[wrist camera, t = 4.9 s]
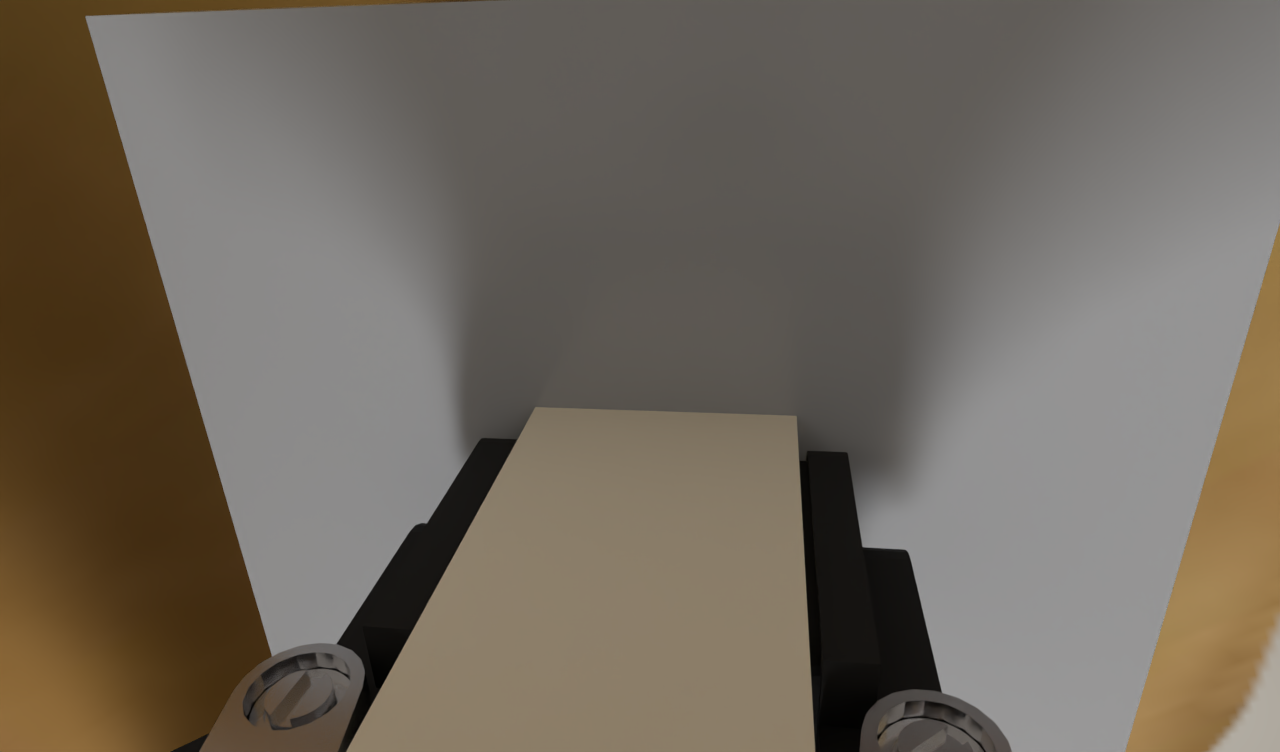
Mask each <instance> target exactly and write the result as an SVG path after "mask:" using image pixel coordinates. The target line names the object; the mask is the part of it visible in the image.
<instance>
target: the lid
mask: <svg viewBox="0 0 1280 752" xmlns="http://www.w3.org/2000/svg"><path fill="white" fill-rule="evenodd" d="M85 17H86V21H87V24H88V27H89V31H90V34H91V38H92V41H93V45H94V48H95V51H96V55H97V58H98V62H99V65H100V69H101V72H102V75H103V79H104V82H105V86H106V89H107V93H108V96H109V99H110V103H111V106H112V110H113V113H114V117H115V120H116V123H117V127H118V130H119V134H120V137H121V140H122V144H123V147H124V151H125V154H126V158H127V161H128V164H129V168H130V171H131V175H132V178H133V182H134V185H135V188H136V192H137V195H138V199H139V202H140V206H141V209H142V212H143V216H144V219H145V223H146V226H147V230H148V233H149V236H150V240H151V243H152V247H153V250H154V253H155V257H156V260H157V264H158V267H159V271H160V274H161V277H162V281H163V284H164V288H165V291H166V295H167V298H168V301H169V305H170V308H171V312H172V315H173V319H174V322H175V325H176V329H177V332H178V336H179V339H180V343H181V346H182V349H183V353H184V356H185V360H186V363H187V366H188V370H189V373H190V377H191V380H192V384H193V387H194V390H195V394H196V397H197V401H198V404H199V408H200V411H201V414H202V418H203V421H204V425H205V428H206V432H207V435H208V438H209V442H210V445H211V449H212V452H213V456H214V459H215V462H216V466H217V469H218V473H219V476H220V480H221V483H222V486H223V490H224V493H225V497H226V500H227V503H228V507H229V510H230V514H231V517H232V521H233V524H234V527H235V531H236V534H237V538H238V541H239V545H240V548H241V551H242V555H243V558H244V562H245V565H246V569H247V572H248V575H249V579H250V582H251V586H252V589H253V593H254V596H255V599H256V603H257V606H258V610H259V613H260V616H261V620H262V623H263V627H264V630H265V634H266V637H267V640H268V644H269V647H270V651H271V654H272V656H274V655H276V654H278V653H280V652H283V651H286V650H289V649H291V648H294V647H297V646H301V645H308V644H315V643H327V644H337V642H338V641H339V639H340V638H341V636H342V635H343V633H344V632H345V630H346V628H347V627H348V625H349V624H350V622H351V621H352V619H353V618H354V616H355V615H356V613H357V612H358V610H359V609H360V607H361V605H362V604H363V602H364V601H365V599H366V598H367V596H368V595H369V593H370V592H371V590H372V589H373V587H374V586H375V584H376V582H377V581H378V579H379V578H380V576H381V575H382V573H383V572H384V570H385V569H386V567H387V566H388V564H389V563H390V561H391V559H392V558H393V556H394V555H395V553H396V552H397V550H398V549H399V547H400V546H401V544H402V543H403V541H404V540H405V538H406V536H407V535H408V533H409V532H410V531H411V530H412V528H413V527H414V526H415V525H417V524H420V523H427V522H428V521H429V519H430V518H431V516H432V515H433V513H434V511H435V510H436V508H437V507H438V505H439V503H440V502H441V500H442V499H443V497H444V495H445V494H446V492H447V491H448V489H449V488H450V486H451V484H452V483H453V481H454V480H455V478H456V476H457V475H458V473H459V472H460V470H461V469H462V467H463V465H464V464H465V462H466V461H467V459H468V457H469V456H470V454H471V453H472V451H473V449H474V448H475V446H476V445H477V443H478V442H479V440H480V439H481V438H499V439H518V440H517V441H516V443H515V445H514V447H513V449H512V451H511V452H510V454H509V456H508V458H507V460H506V462H505V463H504V465H503V467H502V469H501V471H500V472H499V474H498V476H497V478H496V480H495V482H494V483H493V485H492V487H491V489H490V491H489V492H488V494H487V496H486V498H485V500H484V502H483V503H482V505H481V507H480V509H479V511H478V512H477V514H476V516H475V518H474V520H473V522H472V523H471V525H470V527H469V529H468V531H467V532H466V534H465V536H464V538H463V540H462V542H461V543H460V545H459V547H458V549H457V551H456V553H455V554H454V556H453V558H452V560H451V562H450V563H449V565H448V567H447V569H446V571H445V573H444V574H443V576H442V578H441V580H440V582H439V583H438V585H437V587H436V589H435V591H434V593H433V594H432V596H431V598H430V600H429V602H428V603H427V605H426V607H425V609H424V611H423V613H422V614H421V616H420V618H419V620H418V622H417V624H416V625H415V627H414V629H413V631H412V633H411V634H410V636H409V638H408V640H407V642H406V644H405V645H404V647H403V649H402V651H401V653H400V654H399V656H398V658H397V660H396V662H395V664H394V665H393V667H392V669H391V671H390V673H389V674H388V676H387V678H386V680H385V682H384V684H383V685H382V687H381V689H380V691H379V693H378V694H377V696H376V698H375V700H374V702H373V704H372V705H371V707H370V709H369V711H368V713H367V715H366V716H365V718H364V720H363V722H362V724H361V725H360V727H359V729H358V731H357V733H356V735H355V736H354V738H353V740H352V742H351V744H350V745H349V747H348V749H347V751H346V752H815V739H814V721H813V703H812V685H811V667H810V649H809V630H808V612H807V594H806V576H805V558H804V540H803V522H802V504H801V486H800V468H799V461H806V454H807V451H831V452H847V453H848V457H849V464H850V470H851V477H852V483H853V489H854V496H855V502H856V509H857V515H858V521H859V528H860V534H861V540H862V547H867V548H885V549H904V550H906V551H907V552H908V553H909V556H910V559H911V563H912V567H913V572H914V576H915V580H916V584H917V588H918V593H919V597H920V601H921V605H922V610H923V614H924V618H925V622H926V627H927V631H928V635H929V639H930V644H931V648H932V652H933V656H934V661H935V665H936V669H937V673H938V678H939V682H940V686H941V690H942V693H944V694H948V695H951V696H954V697H958V698H959V699H961V700H963V701H965V702H967V703H969V704H971V705H973V706H974V707H976V708H978V709H979V710H981V711H982V712H983V713H984V714H985V715H986V716H988V717H989V718H990V719H991V720H992V721H994V722H995V723H996V724H997V726H998V727H999V729H1000V730H1001V731H1002V733H1003V734H1004V736H1005V737H1006V738H1007V740H1008V741H1009V744H1010V747H1011V751H1012V752H1125V750H1126V746H1127V743H1128V740H1129V736H1130V733H1131V729H1132V726H1133V722H1134V719H1135V716H1136V712H1137V709H1138V705H1139V702H1140V699H1141V695H1142V692H1143V688H1144V685H1145V681H1146V678H1147V675H1148V671H1149V668H1150V664H1151V661H1152V658H1153V654H1154V651H1155V647H1156V644H1157V640H1158V637H1159V634H1160V630H1161V627H1162V623H1163V620H1164V617H1165V613H1166V610H1167V606H1168V603H1169V599H1170V596H1171V593H1172V589H1173V586H1174V582H1175V579H1176V576H1177V572H1178V569H1179V565H1180V562H1181V558H1182V555H1183V552H1184V548H1185V545H1186V541H1187V538H1188V534H1189V531H1190V528H1191V524H1192V521H1193V517H1194V514H1195V511H1196V507H1197V504H1198V500H1199V497H1200V493H1201V490H1202V487H1203V483H1204V480H1205V476H1206V473H1207V470H1208V466H1209V463H1210V459H1211V456H1212V452H1213V449H1214V446H1215V442H1216V439H1217V435H1218V432H1219V429H1220V425H1221V422H1222V418H1223V415H1224V411H1225V408H1226V405H1227V401H1228V398H1229V394H1230V391H1231V388H1232V384H1233V381H1234V377H1235V374H1236V370H1237V367H1238V364H1239V360H1240V357H1241V353H1242V350H1243V347H1244V343H1245V340H1246V336H1247V333H1248V329H1249V326H1250V323H1251V319H1252V316H1253V312H1254V309H1255V306H1256V302H1257V299H1258V295H1259V292H1260V288H1261V285H1262V282H1263V278H1264V275H1265V271H1266V268H1267V265H1268V261H1269V258H1270V254H1271V251H1272V247H1273V244H1274V241H1275V237H1276V234H1277V230H1278V227H1279V223H1280V0H467V1H441V2H415V3H388V4H362V5H336V6H310V7H283V8H257V9H231V10H205V11H179V12H152V13H131V14H114V15H97V16H85Z"/></svg>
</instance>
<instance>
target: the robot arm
mask: <svg viewBox="0 0 1280 752" xmlns="http://www.w3.org/2000/svg"><path fill="white" fill-rule="evenodd" d="M517 440H518V439H499V438H481V439H480V440H479V442H478V443H477V445H476V446H475V448H474V449H473V451H472V453H471V454H470V456H469V457H468V459H467V461H466V462H465V464H464V465H463V467H462V469H461V470H460V472H459V473H458V475H457V476H456V478H455V480H454V481H453V483H452V484H451V486H450V488H449V489H448V491H447V492H446V494H445V495H444V497H443V499H442V500H441V502H440V503H439V505H438V507H437V508H436V510H435V511H434V513H433V515H432V516H431V518H430V519H429V521H428V522H427V523H420V524H417V525H415V526H414V527H413V528H412V530H411V531H410V532H409V533H408V535H407V536H406V538H405V540H404V541H403V543H402V544H401V546H400V547H399V549H398V550H397V552H396V553H395V555H394V556H393V558H392V559H391V561H390V563H389V564H388V566H387V567H386V569H385V570H384V572H383V573H382V575H381V576H380V578H379V579H378V581H377V582H376V584H375V586H374V587H373V589H372V590H371V592H370V593H369V595H368V596H367V598H366V599H365V601H364V602H363V604H362V605H361V607H360V609H359V610H358V612H357V613H356V615H355V616H354V618H353V619H352V621H351V622H350V624H349V625H348V627H347V628H346V630H345V632H344V633H343V635H342V636H341V638H340V639H339V641H338V642H337V644H327V643H315V644H308V645H301V646H297V647H294V648H291V649H289V650H286V651H283V652H280V653H278V654H276V655H274V656H272V657H271V658H269V659H267V660H265V661H263V662H261V663H260V664H259V665H257V666H256V667H255V668H254V669H253V670H251V671H250V672H249V673H248V674H247V675H245V676H244V678H243V679H242V680H241V681H240V683H239V684H238V685H237V687H236V688H235V689H234V691H233V692H232V694H231V696H230V697H229V699H228V701H227V703H226V705H225V706H224V708H223V710H222V712H221V714H220V715H219V717H218V719H217V721H216V722H215V724H214V726H213V728H212V730H211V731H210V733H209V734H207V735H205V736H203V737H201V738H199V739H196V740H194V741H192V742H190V743H188V744H186V745H184V746H182V747H180V748H177V749H175V750H173V751H171V752H346V751H347V749H348V747H349V745H350V744H351V742H352V740H353V738H354V736H355V735H356V733H357V731H358V729H359V727H360V725H361V724H362V722H363V720H364V718H365V716H366V715H367V713H368V711H369V709H370V707H371V705H372V704H373V702H374V700H375V698H376V696H377V694H378V693H379V691H380V689H381V687H382V685H383V684H384V682H385V680H386V678H387V676H388V674H389V673H390V671H391V669H392V667H393V665H394V664H395V662H396V660H397V658H398V656H399V654H400V653H401V651H402V649H403V647H404V645H405V644H406V642H407V640H408V638H409V636H410V634H411V633H412V631H413V629H414V627H415V625H416V624H417V622H418V620H419V618H420V616H421V614H422V613H423V611H424V609H425V607H426V605H427V603H428V602H429V600H430V598H431V596H432V594H433V593H434V591H435V589H436V587H437V585H438V583H439V582H440V580H441V578H442V576H443V574H444V573H445V571H446V569H447V567H448V565H449V563H450V562H451V560H452V558H453V556H454V554H455V553H456V551H457V549H458V547H459V545H460V543H461V542H462V540H463V538H464V536H465V534H466V532H467V531H468V529H469V527H470V525H471V523H472V522H473V520H474V518H475V516H476V514H477V512H478V511H479V509H480V507H481V505H482V503H483V502H484V500H485V498H486V496H487V494H488V492H489V491H490V489H491V487H492V485H493V483H494V482H495V480H496V478H497V476H498V474H499V472H500V471H501V469H502V467H503V465H504V463H505V462H506V460H507V458H508V456H509V454H510V452H511V451H512V449H513V447H514V445H515V443H516V441H517ZM799 468H800V486H801V504H802V522H803V540H804V558H805V576H806V594H807V612H808V630H809V649H810V667H811V685H812V703H813V721H814V739H815V752H1012V751H1011V747H1010V744H1009V741H1008V740H1007V738H1006V737H1005V736H1004V734H1003V733H1002V731H1001V730H1000V729H999V727H998V726H997V724H996V723H995V722H994V721H992V720H991V719H990V718H989V717H988V716H986V715H985V714H984V713H983V712H982V711H981V710H979V709H978V708H976V707H974V706H973V705H971V704H969V703H967V702H965V701H963V700H961V699H959V698H958V697H954V696H951V695H948V694H944V693H942V690H941V686H940V682H939V678H938V673H937V669H936V665H935V661H934V656H933V652H932V648H931V644H930V639H929V635H928V631H927V627H926V622H925V618H924V614H923V610H922V605H921V601H920V597H919V593H918V588H917V584H916V580H915V576H914V572H913V567H912V563H911V559H910V556H909V553H908V552H907V551H906V550H904V549H885V548H867V547H862V540H861V534H860V528H859V521H858V515H857V509H856V502H855V496H854V489H853V483H852V477H851V470H850V464H849V457H848V453H847V452H831V451H807V454H806V461H799Z"/></svg>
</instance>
